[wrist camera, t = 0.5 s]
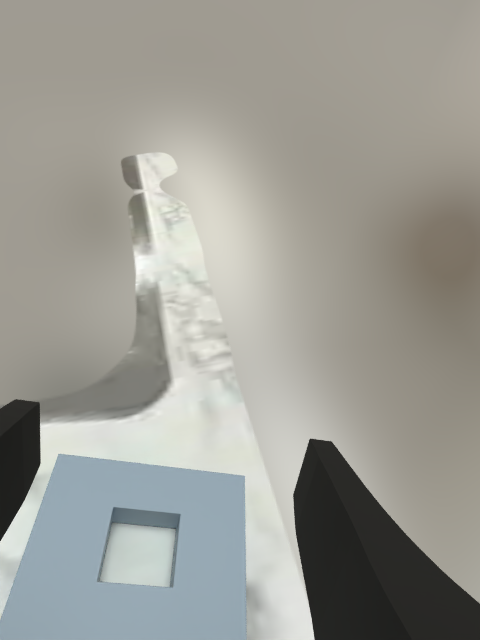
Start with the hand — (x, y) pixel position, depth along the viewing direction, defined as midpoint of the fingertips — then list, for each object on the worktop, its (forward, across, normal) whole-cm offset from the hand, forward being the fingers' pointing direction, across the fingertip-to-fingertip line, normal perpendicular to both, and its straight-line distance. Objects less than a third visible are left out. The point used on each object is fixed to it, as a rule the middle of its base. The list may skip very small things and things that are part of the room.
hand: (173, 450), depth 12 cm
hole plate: (+9, +1, +16) cm, 18 cm away
